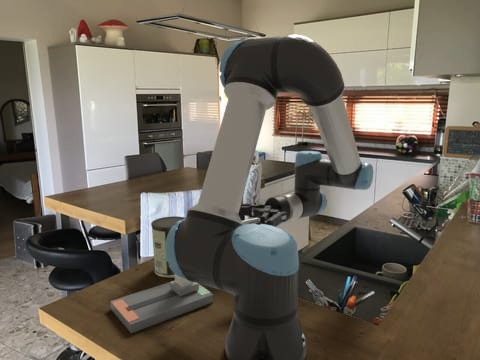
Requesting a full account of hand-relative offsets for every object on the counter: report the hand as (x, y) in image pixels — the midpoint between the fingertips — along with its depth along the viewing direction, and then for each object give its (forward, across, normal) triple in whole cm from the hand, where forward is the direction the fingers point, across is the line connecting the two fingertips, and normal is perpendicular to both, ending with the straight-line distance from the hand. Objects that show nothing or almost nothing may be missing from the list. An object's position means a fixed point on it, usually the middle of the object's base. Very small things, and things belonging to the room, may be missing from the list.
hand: (220, 221), depth 98 cm
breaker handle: (+11, -1, -14) cm, 18 cm away
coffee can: (+6, +15, -17) cm, 23 cm away
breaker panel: (+17, -1, -17) cm, 24 cm away
